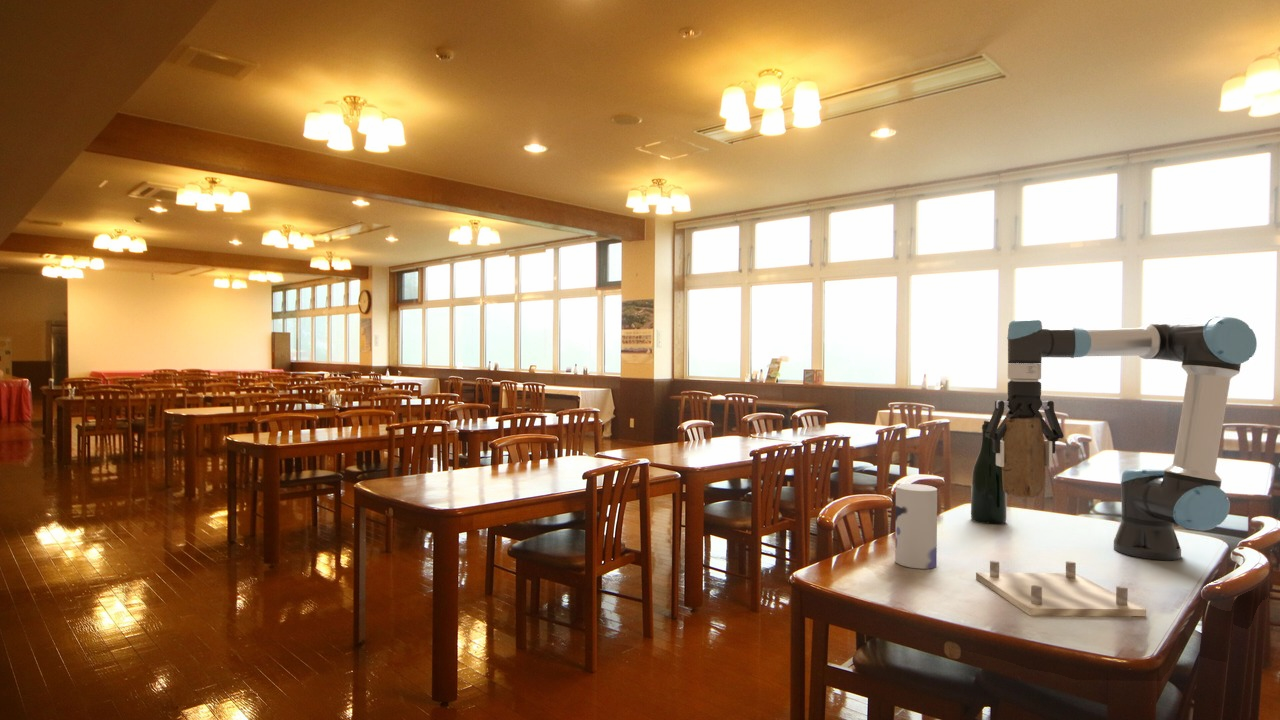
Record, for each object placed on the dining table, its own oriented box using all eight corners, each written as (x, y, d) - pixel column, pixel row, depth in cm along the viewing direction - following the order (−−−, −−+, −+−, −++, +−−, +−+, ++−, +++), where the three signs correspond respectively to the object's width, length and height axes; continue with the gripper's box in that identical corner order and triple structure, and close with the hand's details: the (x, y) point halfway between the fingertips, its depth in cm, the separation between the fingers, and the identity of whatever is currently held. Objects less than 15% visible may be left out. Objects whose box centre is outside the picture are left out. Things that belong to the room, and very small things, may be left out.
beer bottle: (1000, 518, 234) (1001, 419, 233) (1011, 525, 223) (1012, 422, 223) (967, 516, 235) (967, 418, 235) (975, 524, 225) (976, 421, 225)
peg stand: (1075, 579, 169) (1075, 558, 169) (1145, 616, 145) (1146, 592, 145) (975, 578, 170) (976, 558, 170) (1029, 615, 146) (1030, 591, 146)
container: (888, 558, 186) (889, 483, 186) (924, 557, 187) (925, 483, 187) (906, 569, 176) (906, 490, 176) (944, 569, 177) (944, 490, 177)
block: (1029, 499, 172) (1029, 418, 172) (998, 494, 178) (998, 416, 178) (1049, 494, 179) (1049, 416, 179) (1018, 489, 185) (1019, 414, 185)
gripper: (984, 381, 175) (983, 468, 175) (1080, 381, 174) (1079, 468, 174) (970, 379, 182) (970, 463, 182) (1062, 380, 182) (1061, 464, 182)
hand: (1023, 466), depth 178 cm, fingers closed on block, 11 cm apart
